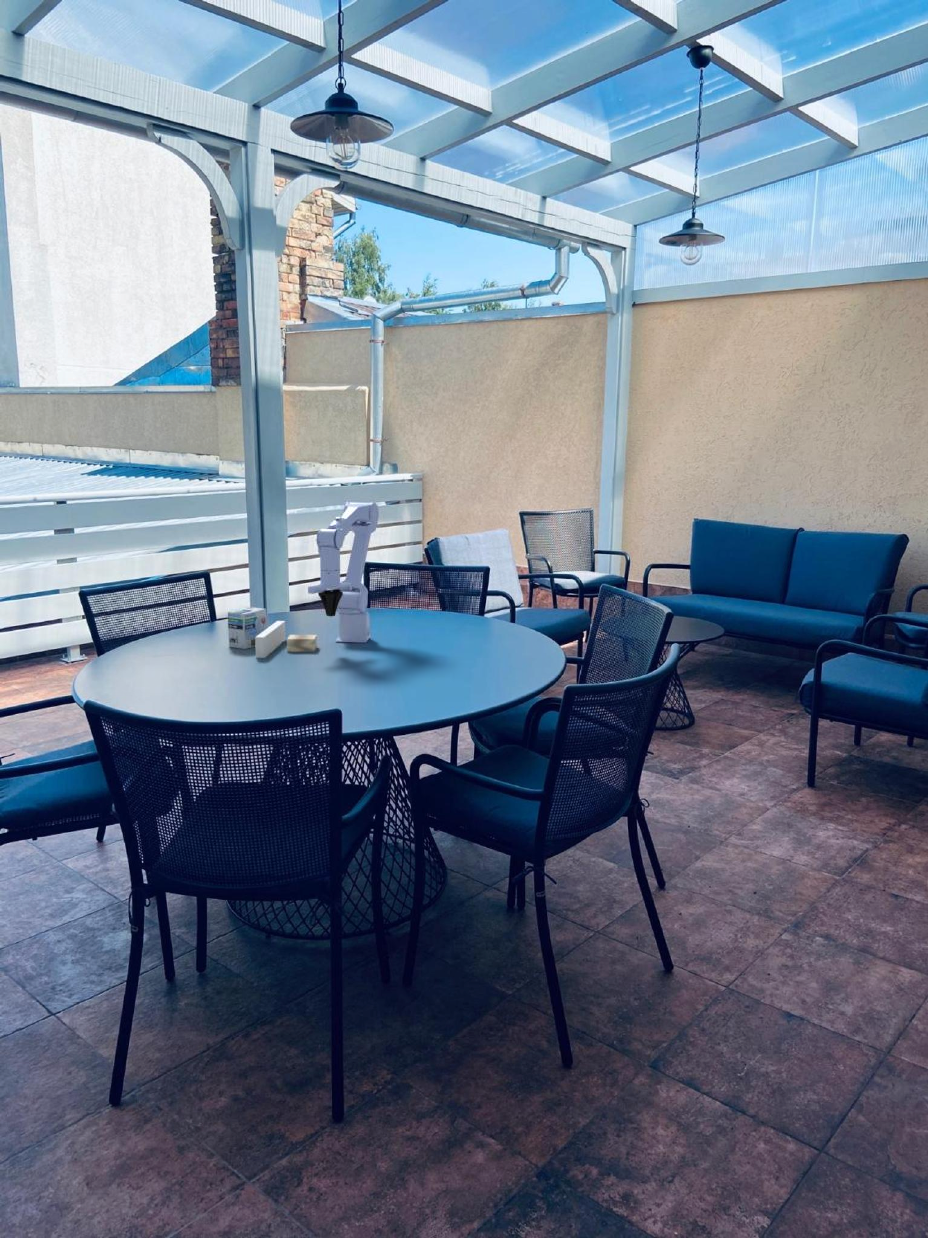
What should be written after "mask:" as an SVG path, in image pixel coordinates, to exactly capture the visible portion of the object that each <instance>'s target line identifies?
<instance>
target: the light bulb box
mask: <svg viewBox="0 0 928 1238" xmlns="http://www.w3.org/2000/svg"><path fill="white" fill-rule="evenodd" d="M267 623H268V621H267V609H266V608H262V607H261V608H260V607H254V606H248V607H245V608H244V607H243V608H240V609H237V610H231V611H228V612H227V625H228V626H227V627H228V628H227V629H228V630H227V631H228V632H227V633H228V634H227V635H228V648H237V649H244V650H247V649H250V648H253V647H254V648H255V637H256V636H258V635H259V634H260V633H262V632H263V631H264V630H266V629H267V628H268V625H267Z"/></svg>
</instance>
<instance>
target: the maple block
mask: <svg viewBox="0 0 928 1238" xmlns="http://www.w3.org/2000/svg"><path fill="white" fill-rule="evenodd" d="M317 648H318V635H317V634H290V635H288V637H287V638H286V651H287V652H289V651H290V652H291V653H293V652H294V653H296V652H297V653H298V652H299V653H300V652H302V653H303V652H305V653H306V652H309V653H310V652H311V653H312V652H316V649H317ZM290 652H289V653H290Z"/></svg>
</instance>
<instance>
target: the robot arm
mask: <svg viewBox="0 0 928 1238" xmlns="http://www.w3.org/2000/svg"><path fill="white" fill-rule="evenodd" d="M379 518H380V516H379V506H378V504H377V503H376V502H373V501H372V502H363V501H362V502H359V501H358V502H357V501H356V502H355V501H346V503H345V504H344V507H343V514H342V515H341V516H336V517H335V518H334V519H333V521H331V523H329V524H328V526H327V527H326V528H321V529H320V530H318V532H317V533H316V539H315V541H316V546H317V550H318V551H317V553H318V555H319V561H320V563H319V564H320V567H319V569H320V571H319V572H320V573H319V574H320V584H317V585H312V586H311V585H310V586H308V587H307V593H308V594H311V595H312V594H313V595H315V594H317V593H318V597H319V598H320V600H321V602H322V605H323V607H324V611H325V615H326V616H327V617H335V616H336V614H337V613H338V637H337V638H336V639H335V643H367V642H368V640H369V639H370V638H371V634H370V633H371V632H370V631H371V630H370V614H369V612H365V610H366V609H367V608H368V600H369V599H368V594H369V591H368V588H367V587H366V586H365V585H364V584H363V583H362V580H363V575H364V572H365V571H364V570H365V565H366V560H367V556H368V549H369V546H370V545H369V544H370V539H371V536H372V533H375V532H376V531H377V527H378V521H379ZM350 531H351V533H354V537H353V541H352V545H351V546H352V547H351V550H350V551H351V552H350V557H349V559H348V560H349V561H348V566H347V571H346V575H345V579H344V580H343V581H341V548H343V545H344V542H345V539H346V536H347V535H348V534H349V533H350Z"/></svg>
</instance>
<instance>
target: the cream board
mask: <svg viewBox="0 0 928 1238" xmlns="http://www.w3.org/2000/svg"><path fill="white" fill-rule="evenodd" d="M285 641H287V638H286V620H276V621H274V623H272V624H271V625H269V626H267V629H266V630H264V631H263V632H262V633H260V634H259V635H258V636H256V637H255V646H254V648H255V658H256V659H265V658H266V657H268V656H269V655H270V654H271V653H272V652H273V651H274V650H276V649H278V648H279V646H281V644H283V643H284V642H285ZM282 642H283V643H282ZM269 653H270V654H269Z"/></svg>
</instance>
